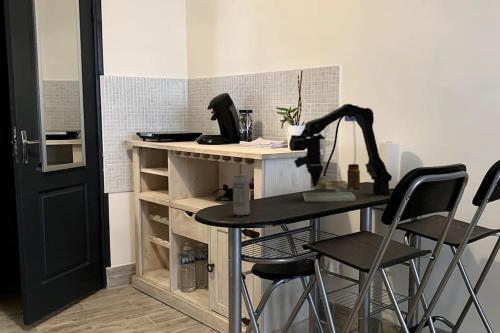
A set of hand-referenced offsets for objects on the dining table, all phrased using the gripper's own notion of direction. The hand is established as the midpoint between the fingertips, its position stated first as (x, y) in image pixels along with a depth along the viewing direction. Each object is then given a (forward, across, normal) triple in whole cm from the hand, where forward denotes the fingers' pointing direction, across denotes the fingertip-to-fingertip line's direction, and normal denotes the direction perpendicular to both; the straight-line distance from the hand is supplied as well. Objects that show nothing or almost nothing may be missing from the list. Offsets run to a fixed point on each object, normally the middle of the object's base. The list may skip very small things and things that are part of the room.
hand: (314, 185), depth 218 cm
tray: (+6, 0, +6) cm, 8 cm away
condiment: (+6, -34, +21) cm, 40 cm away
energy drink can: (+6, +35, -29) cm, 46 cm away
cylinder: (+6, -14, +12) cm, 19 cm away
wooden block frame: (+1, 0, +6) cm, 6 cm away
